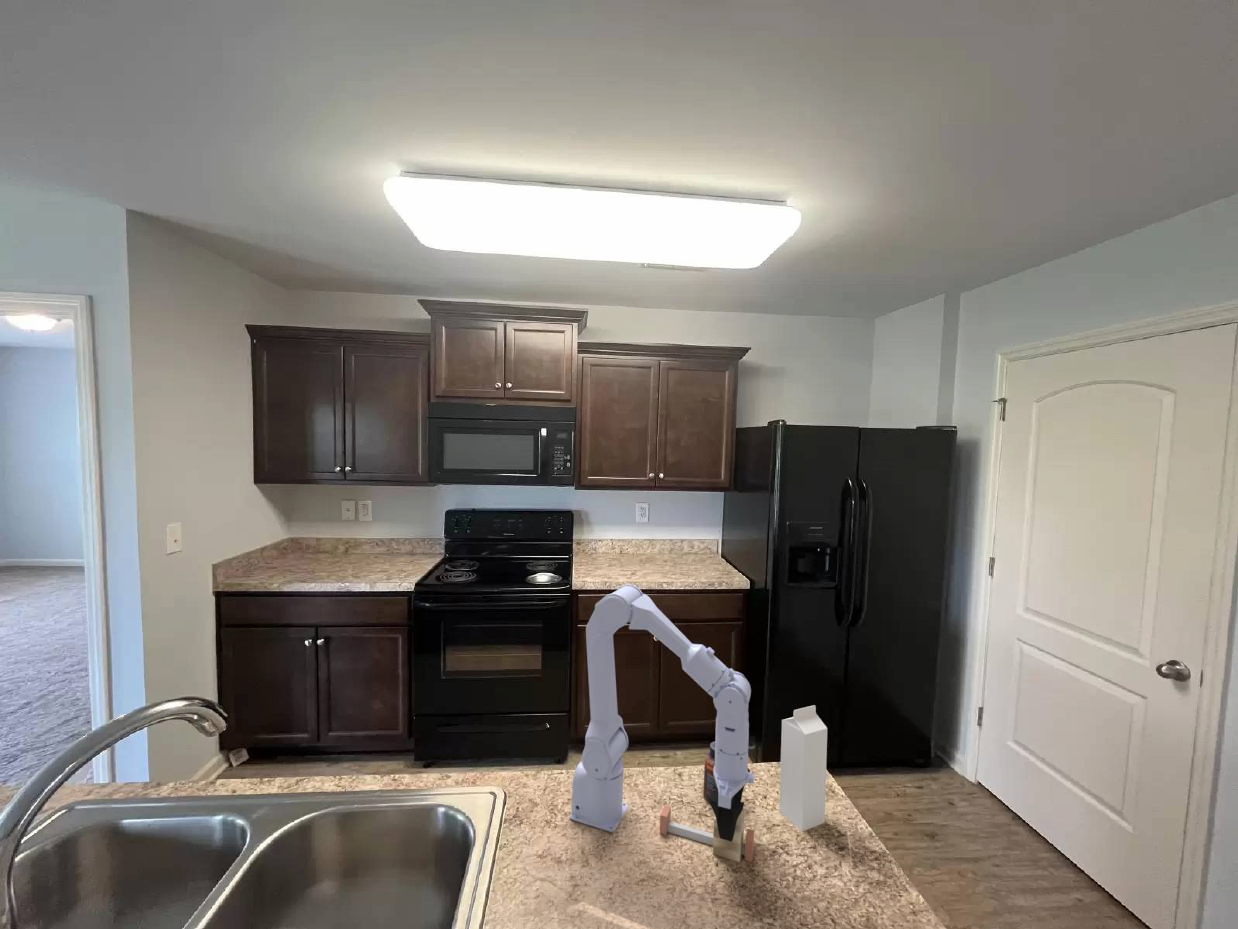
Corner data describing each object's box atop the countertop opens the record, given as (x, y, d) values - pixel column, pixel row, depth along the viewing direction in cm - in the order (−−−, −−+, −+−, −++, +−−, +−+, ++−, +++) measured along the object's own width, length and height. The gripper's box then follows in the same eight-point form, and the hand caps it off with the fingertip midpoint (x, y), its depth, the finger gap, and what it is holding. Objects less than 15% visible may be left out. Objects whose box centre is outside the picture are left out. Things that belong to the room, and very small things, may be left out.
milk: (778, 816, 97) (781, 703, 97) (801, 807, 100) (803, 698, 100) (802, 837, 91) (805, 717, 92) (825, 827, 94) (828, 711, 95)
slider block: (712, 854, 85) (713, 819, 86) (717, 834, 90) (718, 801, 90) (739, 862, 84) (740, 826, 84) (743, 842, 88) (744, 808, 88)
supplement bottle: (733, 814, 97) (735, 756, 97) (702, 809, 98) (704, 752, 98) (732, 795, 103) (734, 740, 103) (703, 790, 104) (705, 736, 104)
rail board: (653, 849, 87) (653, 825, 87) (666, 816, 96) (667, 795, 96) (751, 881, 81) (752, 855, 81) (756, 843, 89) (757, 820, 90)
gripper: (750, 775, 79) (748, 860, 79) (758, 731, 92) (756, 804, 92) (706, 764, 81) (704, 847, 81) (721, 723, 95) (719, 794, 95)
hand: (729, 824), depth 87 cm, fingers open, 7 cm apart
